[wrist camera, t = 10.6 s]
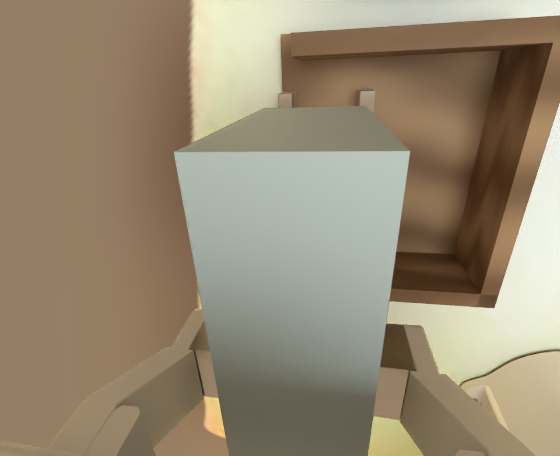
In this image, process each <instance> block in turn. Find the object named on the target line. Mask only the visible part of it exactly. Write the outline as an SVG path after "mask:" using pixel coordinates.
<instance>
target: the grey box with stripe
mask: <svg viewBox="0 0 560 456" xmlns="http://www.w3.org/2000/svg"><path fill="white" fill-rule="evenodd" d="M174 156H175V162H176V167H177V173H178V178H179V183H180V189H181V195H182V200H183V206H184V211H185V216H186V222H187V227H188V233H189V238H190V244H191V249H192V255H193V260H194V266H195V271H196V277H197V282H198V288H199V293H200V299H201V304H202V310H203V315H204V321H205V326H206V332H207V337H208V343H209V348H210V353H211V359H212V364H213V370H214V375H215V381H216V386H217V392H218V397H219V403H220V408H221V414H222V419H223V425H224V430H225V436H226V441H227V446H228V452H229V456H368V449H369V442H370V435H371V427H372V420H373V413H374V406H375V399H376V392H377V385H378V377H379V370H380V363H381V356H382V349H383V342H384V335H385V327H386V320H387V313H388V306H389V299H390V292H391V285H392V277H393V270H394V263H395V256H396V249H397V242H398V235H399V228H400V220H401V213H402V206H403V199H404V192H405V185H406V178H407V170H408V163H409V156H410V150H409V149H408V148H407V147H406V146H405V145H404V144H403V143H402V142H401V141H400V140H399V139H398V138H397V137H396V136H395V135H394V134H393V133H392V132H391V131H390V130H389V129H388V128H387V127H386V126H385V125H384V124H383V123H382V122H381V121H380V120H379V119H378V118H377V117H376V116H375V115H374V114H373V113H372V112H371V111H370V110H369V109H368V108H367V107H366V106H340V107H302V108H264V109H262V110H260V111H257V112H255V113H253V114H251V115H249V116H247V117H245V118H243V119H241V120H239V121H237V122H235V123H233V124H231V125H229V126H227V127H225V128H222V129H220V130H218V131H216V132H214V133H212V134H210V135H208V136H206V137H204V138H202V139H200V140H198V141H196V142H194V143H192V144H190V145H188V146H185V147H183V148H181V149H179V150H177V151H175V152H174Z"/></svg>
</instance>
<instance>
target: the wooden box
mask: <svg viewBox="0 0 560 456" xmlns="http://www.w3.org/2000/svg"><path fill="white" fill-rule="evenodd" d="M281 59H282V90H283V93H280V94H278V104H279V108H302V107H340V106H366V107H367V108H368V109H369V110H370V111H371V112H372V113H373V114H374V115H375V116H376V117H377V118H378V119H379V120H380V121H381V122H382V123H383V124H384V125H385V126H386V127H387V128H388V129H389V130H390V131H391V132H392V133H393V134H394V135H395V136H396V137H397V138H398V139H399V140H400V141H401V142H402V143H403V144H404V145H405V146H406V147H407V148H408V149H409V150H410V156H409V163H408V170H407V178H406V185H405V192H404V199H403V206H402V213H401V220H400V228H399V235H398V242H397V249H396V256H395V263H394V270H393V277H392V285H391V292H390V299H389V301H396V302H411V303H426V304H440V305H455V306H470V307H485V308H494V307H495V304H496V301H497V298H498V294H499V291H500V288H501V285H502V282H503V279H504V276H505V272H506V269H507V266H508V263H509V260H510V257H511V254H512V251H513V247H514V244H515V241H516V238H517V235H518V232H519V229H520V225H521V222H522V219H523V216H524V213H525V210H526V207H527V203H528V200H529V197H530V194H531V191H532V188H533V185H534V181H535V178H536V175H537V172H538V169H539V166H540V163H541V159H542V156H543V153H544V150H545V147H546V144H547V141H548V137H549V134H550V131H551V128H552V125H553V122H554V119H555V116H556V112H557V109H558V106H559V103H560V16H546V17H531V18H515V19H500V20H484V21H469V22H453V23H438V24H422V25H407V26H391V27H376V28H360V29H345V30H329V31H314V32H298V33H291V34H282V35H281Z"/></svg>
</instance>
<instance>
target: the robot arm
mask: <svg viewBox="0 0 560 456" xmlns="http://www.w3.org/2000/svg"><path fill="white" fill-rule="evenodd" d="M203 396H207V397H218V392H217V386H216V381H215V375H214V370H213V364H212V359H211V353H210V348H209V343H208V337H207V332H206V326H205V321H204V315H203V310H202V309H195V310H194V311H193V312H192V313H191V315H190V316H189V318H188V320H187V322H186V323H185V325H184V326H183V328H182V330H181V331H180V333H179V335H178V336H177V338H176V340H175V342H174V343H173V344H172V346H171V348H168V347H166V348H164V349H162V350H161V351H159V352H158V353H156V354H154V355H153V356H152V357H150V358H148V359H147V360H145V361H143V362H142V363H140V364H139V365H137V366H136V367H134V368H132V369H131V370H129V371H128V372H126V373H124V374H123V375H121V376H120V377H118V378H117V379H115V380H113V381H112V382H110V383H109V384H107V385H105V386H104V387H103V388H101V389H99V390H97V391H96V392H94V393H93V394H91V395H90V396H88V397H86V398H85V399H84V400H83V402H82V403H81V404H80V406H79V407H78V408H77V409H76V411H75V412H74V413H73V414H72V416H71V417H70V418H69V420H68V421H67V422H66V424H65V425H64V426H63V427H62V429H61V430H60V431H59V433H58V434H57V435H56V436H55V438H54V439H53V440H52V442H51V443H50V444H49V446H48V447H47V448H41V447H35V446H29V445H23V444H16V443H11V442H4V441H0V456H156V455H155V453H154V450H153V448H154V447H155V446H156V445H157V444H158V443H159V442H160V441H161V440H162V439H163V438H164V437H165V436H166V435H167V434H168V433H169V432H170V431H171V430H172V429H173V428H174V427H175V426H176V425H177V424H178V423H179V422H180V421H181V420H182V419H183V418H184V417H185V416H186V415H187V414H188V413H189V412H190V411H191V410H192V409H193V408H194V407H195V406H196V405H197V404H198V403H199V402H200V401H201V400H202V399H203V398H204V397H203ZM218 398H219V397H218ZM373 416H377V417H383V418H390V419H397V420H400V422H401V424H402V425H403V426H404V428H405V429H406V431H407V432H408V433H409V435H410V436H411V438H412V439H413V441H414V442H415V443H416V445H417V446H418V448H419V449H420V451H421V452H422V453H423V455H424V456H560V351H555V352H544V353H538V354H533V355H529V356H526V357H522V358H519V359H517V360H514V361H512V362H510V363H508V364H506V365H504V366H502V367H501V368H499V369H498V370H496V371H494V372H493V373H491V374H489V375H487V376H484V377H481V378H477V379H473V380H470V381H467V382H465V383H463V384H462V385H461V387H459V386H458V385H457V384H456V383H455V382H453V381H452V380H451V379H450V378H449V377H448V376H447V375H445V374H440V373H439V371H438V368H437V365H436V362H435V359H434V357H433V354H432V351H431V348H430V345H429V343H428V340H427V337H426V334H425V331H424V329H423V327H422V326H418V325H397V324H386V327H385V335H384V342H383V349H382V356H381V363H380V370H379V377H378V385H377V392H376V399H375V406H374V413H373Z"/></svg>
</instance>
